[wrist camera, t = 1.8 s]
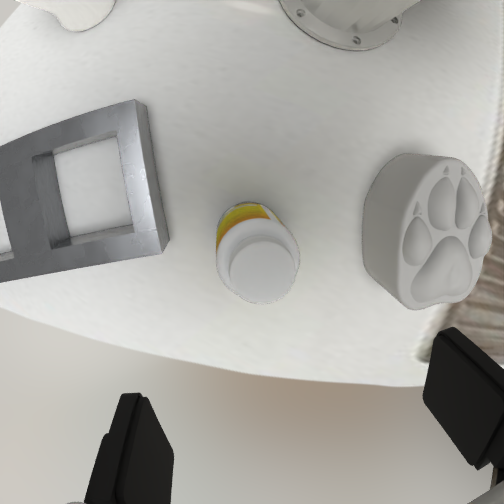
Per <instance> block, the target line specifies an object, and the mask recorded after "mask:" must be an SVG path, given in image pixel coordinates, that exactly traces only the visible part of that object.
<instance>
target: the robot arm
mask: <svg viewBox="0 0 504 504" xmlns="http://www.w3.org/2000/svg"><path fill="white" fill-rule="evenodd" d="M420 1H421V0H280V3H281V5H282V7H283V9H284V10H285V12H286V13H287V15H288V16H289V17H290V19H291V20H292V21H293V22H294V23H295V24H296V25H297V26H298V27H299V28H301V29H302V30H303V31H305V32H306V33H307V34H309V35H310V36H312V37H314V38H315V39H317V40H319V41H321V42H323V43H326V44H328V45H331V46H333V47H337V48H341V49H345V50H355V51H360V50H369V49H372V48H376V47H379V46H380V45H382V44H384V43H386V42H387V41H389V40H390V39H391V38H393V37H394V35H395V34H396V33H397V31H398V30H399V27H400V25H401V21H402V12H403V11H405V10H407V9H408V8H410V7H411V6H413V5H415V4H416V3H418V2H420ZM298 15H300V16H301V17H299V16H298ZM353 41H354V42H355V43H354V42H353ZM423 400H424V403H425V405H426V406H427V407H428V409H429V410H430V411H431V413H432V414H433V415H434V417H435V418H436V419H437V421H438V422H439V423H440V425H441V426H442V427H443V429H444V430H445V432H446V433H447V434H448V436H449V437H450V438H451V440H452V441H453V443H454V444H455V445H456V447H457V448H458V450H459V451H460V452H461V454H462V455H463V456H464V458H465V459H466V461H467V462H468V463H469V464H470V465H472V466H473V465H474V466H475V468H476V469H477V470H479V469H481V468H483V467H484V466H486V465H487V464H489V463H490V462H491V463H492V464H493V466H494V467H493V473H492V480H491V486H490V490H489V491H487V492H486V493H484V494H482V495H481V496H479V497H478V498H476V499H474V500H473V501H471V502H469V503H468V504H504V369H503V368H502V367H500V366H499V365H498V364H497V363H496V362H495V361H494V360H493V359H491V358H490V357H489V356H488V355H487V354H486V353H485V352H483V351H482V350H481V349H480V348H479V347H478V346H476V345H475V344H474V343H473V342H472V341H471V340H469V339H468V338H467V337H466V336H465V335H464V334H462V333H461V332H460V331H459V330H458V329H456V328H455V327H450V328H448V329H445V330H442V331H440V332H438V334H437V336H436V337H435V338H434V341H433V347H432V352H431V358H430V363H429V368H428V373H427V378H426V382H425V387H424V391H423ZM173 465H174V453H173V449H172V447H171V445H170V443H169V441H168V440H167V437H166V435H165V433H164V431H163V429H162V427H161V425H160V423H159V421H158V419H157V417H156V415H155V412H154V410H153V408H152V406H151V404H150V401H149V399H148V398H147V397H143V396H142V395H141V393H124V394H122V395H121V397H120V400H119V403H118V405H117V409H116V412H115V415H114V418H113V421H112V424H111V427H110V430H109V433H107V434H105V435H104V437H103V439H102V441H101V445H100V448H99V451H98V454H97V458H96V461H95V465H94V468H93V471H92V475H91V478H90V481H89V485H88V489H87V492H86V496H85V500H84V503H82V502H71V503H67V504H170V502H171V488H172V476H173Z"/></svg>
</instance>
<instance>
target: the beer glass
mask: <svg viewBox="0 0 504 504" xmlns="http://www.w3.org/2000/svg"><path fill="white" fill-rule="evenodd" d="M15 1H18V2H20V3H23V4H25V5H29V6H32V7H35V8H38V9H41V10H45V11H47V12H50V13H51V14H53V15H54V16H55V17H56V18H57V19H58V21H59V22H60V24H61V25H62V27H63V28H65V29H66V30H68V31H72V32H81V31H85V30H88V29H90V28H92V27H94V26H96V25H97V24H99V23H100V22H101V21H102V20H104V19H105V18H106V17H107V15H108V14H109V13H110V11H111V10H112V8H113V6H114V3H115V0H15Z"/></svg>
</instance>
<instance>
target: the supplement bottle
mask: <svg viewBox="0 0 504 504" xmlns="http://www.w3.org/2000/svg"><path fill="white" fill-rule="evenodd" d="M299 262H300V253H299V248H298V245H297V242H296V240H295V238H294V237H293V235H292V234H291V232H290V231H289V230H288V229H287V228H286V227H285V226H284V224H283V223H282V222H281V221H280V220H279V219H278V217H277V216H276V215H275V214H274V213H273V212H272V211H271V210H270V209H268V208H267V207H265V206H263V205H261V204H258V203H253V202H245V203H240V204H237V205H235V206H233V207H231V208H230V209H229V210H227V211H226V212H225V213H224V215H223V216H222V217H221V219H220V221H219V224H218V227H217V237H216V265H217V270H218V273H219V276H220V278H221V280H222V281H223V283H224V284H225V285H226V287H228V288H229V289H230V290H231V291H232V292H234V293H235V294H237V295H239V296H240V297H241V298H243V299H244V300H246V301H248V302H251V303H255V304H268V303H272V302H275V301H277V300H279V299H280V298H282V297H283V296H284V295H286V294H287V293H288V291H289V290H290V289H291V287H292V285H293V283H294V280H295V276H296V274H297V271H298V268H299Z"/></svg>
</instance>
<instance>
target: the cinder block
mask: <svg viewBox="0 0 504 504" xmlns="http://www.w3.org/2000/svg"><path fill="white" fill-rule="evenodd" d="M116 136H117V139H118V146H119V152H120V158H121V164H122V170H123V176H124V181H125V187H126V192H127V197H128V202H129V207H130V212H131V217H132V221H133V224H132V225H127V226H122V227H117V228H112V229H107V230H103V231H98V232H93V233H88V234H84V235H79V236H75V237H70V236H69V232H68V228H67V223H66V219H65V215H64V210H63V206H62V201H61V196H60V191H59V186H58V181H57V175H56V169H55V163H54V157H53V155H56V154H59V153H62V152H65V151H68V150H71V149H74V148H77V147H81V146H84V145H87V144H91V143H94V142H98V141H101V140H105V139H108V138H112V137H116ZM0 201H1V206H2V211H3V215H4V220H5V224H6V228H7V232H8V236H9V240H10V244H11V247H12V251H11V252H7V253H3V254H0V283H1V282H7V281H12V280H17V279H23V278H28V277H33V276H39V275H44V274H50V273H55V272H61V271H66V270H72V269H77V268H83V267H88V266H94V265H100V264H105V263H111V262H117V261H122V260H128V259H134V258H139V257H145V256H151V255H157V254H162V253H163V251H164V249H165V247H166V245H167V244H168V242H169V235H168V230H167V225H166V220H165V215H164V210H163V205H162V200H161V195H160V189H159V184H158V178H157V172H156V166H155V160H154V154H153V148H152V142H151V135H150V128H149V121H148V114H147V107H146V106H145V105H143V104H142V103H140V102H138V101H137V100H135V99H134V100H130V101H126V102H122V103H118V104H115V105H111V106H108V107H104V108H101V109H98V110H94V111H91V112H88V113H85V114H82V115H79V116H76V117H73V118H70V119H67V120H64V121H61V122H59V123H56V124H53V125H50V126H48V127H45V128H43V129H40V130H37V131H35V132H33V133H30V134H28V135H25V136H23V137H21V138H18V139H16V140H14V141H11V142H9V143H7V144H5V145H2V146H0Z"/></svg>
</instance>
